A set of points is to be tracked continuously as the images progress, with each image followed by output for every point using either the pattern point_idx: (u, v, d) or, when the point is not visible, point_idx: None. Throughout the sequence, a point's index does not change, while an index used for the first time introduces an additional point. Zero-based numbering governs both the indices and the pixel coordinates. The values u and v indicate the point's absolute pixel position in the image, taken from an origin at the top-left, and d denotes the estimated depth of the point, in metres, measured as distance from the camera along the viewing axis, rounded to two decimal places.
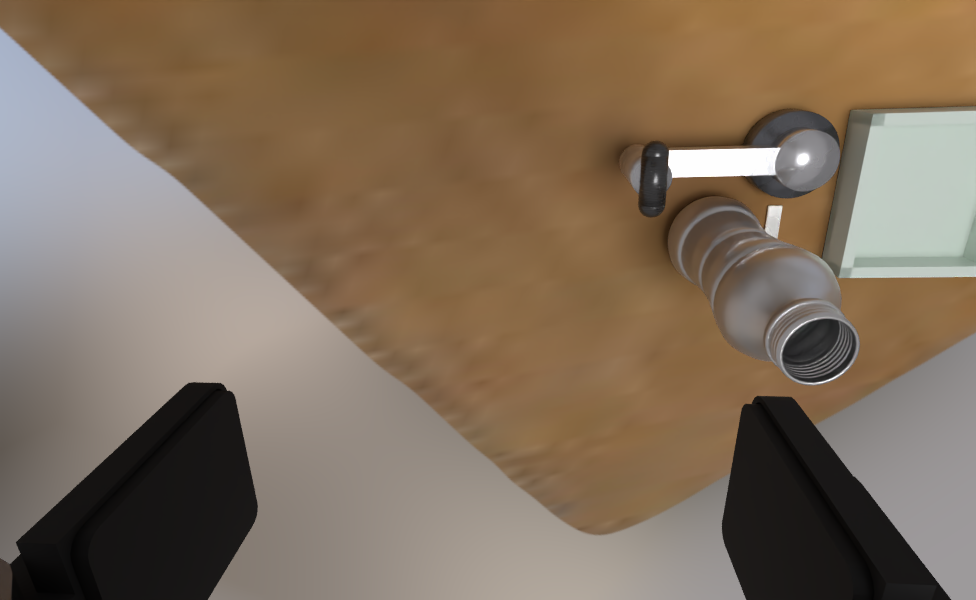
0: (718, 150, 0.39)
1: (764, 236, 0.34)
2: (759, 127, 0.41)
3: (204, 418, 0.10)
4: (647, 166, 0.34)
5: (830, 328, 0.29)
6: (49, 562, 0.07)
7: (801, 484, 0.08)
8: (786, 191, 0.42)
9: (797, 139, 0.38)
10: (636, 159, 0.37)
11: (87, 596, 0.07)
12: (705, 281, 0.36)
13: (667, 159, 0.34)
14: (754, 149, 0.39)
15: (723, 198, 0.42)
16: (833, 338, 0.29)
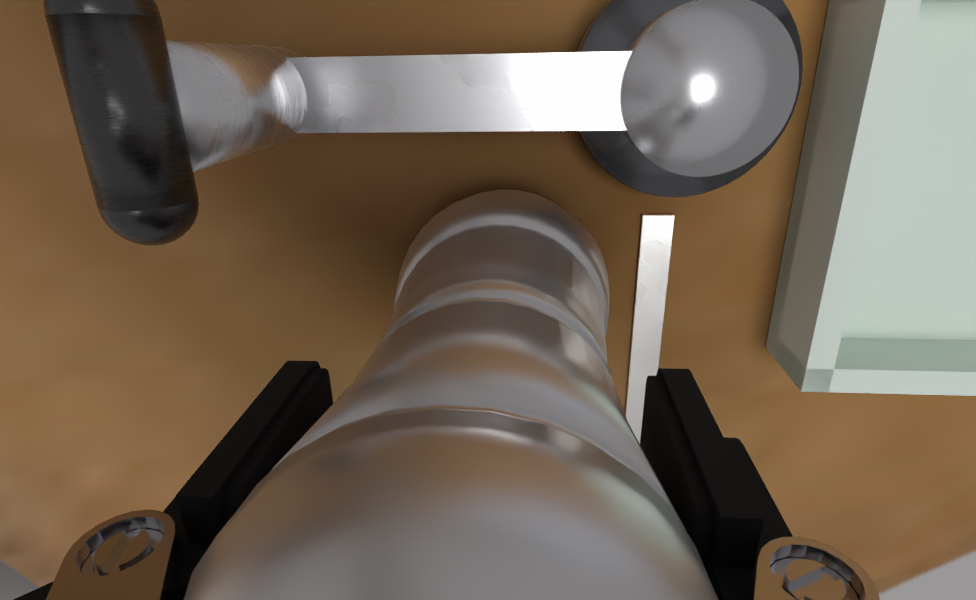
0: (463, 57, 0.14)
1: (497, 328, 0.09)
2: (599, 13, 0.16)
3: (309, 392, 0.10)
4: (58, 56, 0.09)
5: None
6: (203, 514, 0.08)
7: (676, 441, 0.09)
8: (671, 179, 0.17)
9: (675, 23, 0.13)
10: None
11: None
12: None
13: (127, 29, 0.09)
14: (561, 55, 0.14)
15: (510, 194, 0.16)
16: None
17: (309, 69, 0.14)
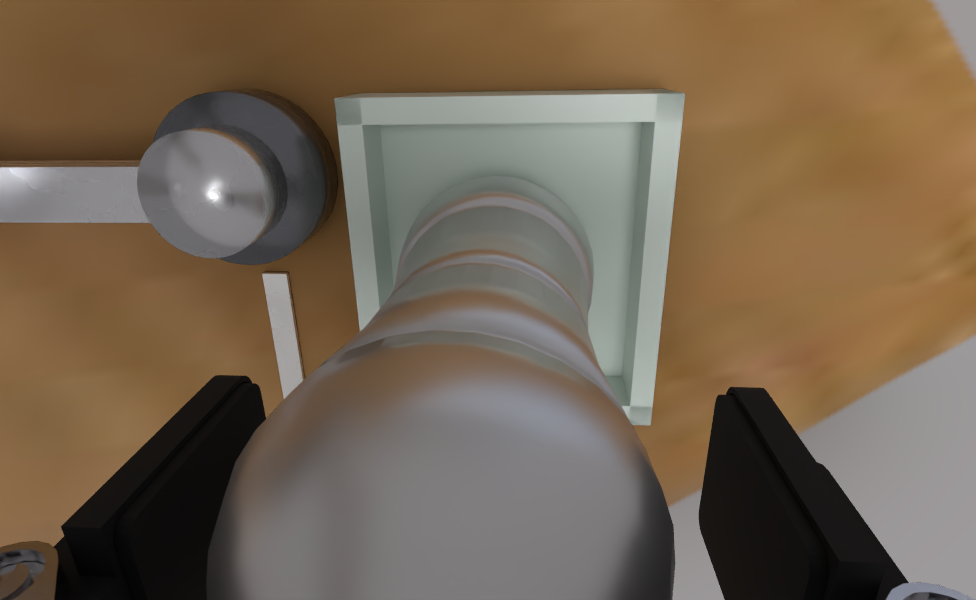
0: (24, 169, 0.19)
1: (486, 283, 0.11)
2: None
3: (232, 409, 0.10)
4: None
5: None
6: (92, 546, 0.07)
7: (767, 470, 0.08)
8: (243, 251, 0.21)
9: (161, 149, 0.18)
10: None
11: (128, 579, 0.08)
12: None
13: None
14: (94, 169, 0.18)
15: (502, 179, 0.18)
16: None
17: None
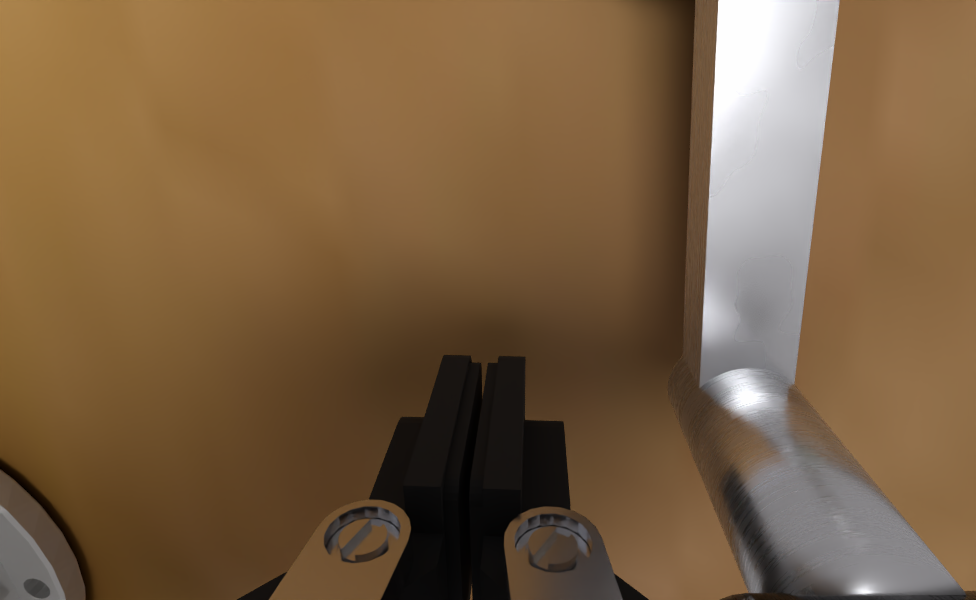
0: (714, 164, 0.10)
1: None
2: None
3: (476, 386, 0.10)
4: None
5: None
6: (427, 504, 0.08)
7: (483, 422, 0.09)
8: None
9: None
10: None
11: (447, 537, 0.08)
12: None
13: None
14: (722, 12, 0.09)
15: None
16: None
17: (715, 362, 0.11)
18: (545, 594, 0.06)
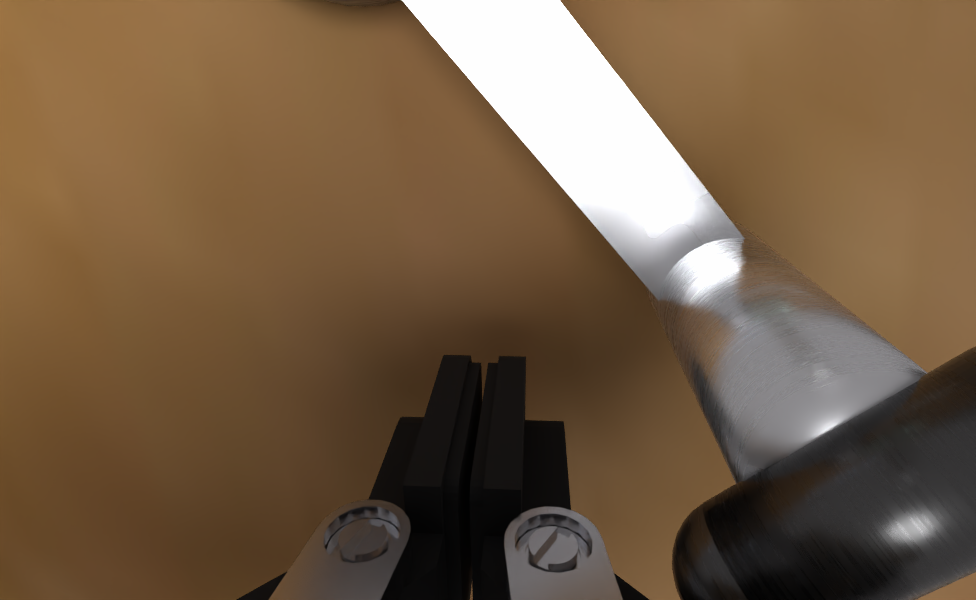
0: (502, 110, 0.10)
1: None
2: None
3: (476, 385, 0.10)
4: None
5: None
6: (427, 504, 0.08)
7: (483, 422, 0.09)
8: None
9: None
10: None
11: (446, 537, 0.08)
12: None
13: (749, 561, 0.06)
14: None
15: None
16: None
17: (652, 269, 0.10)
18: (545, 594, 0.06)
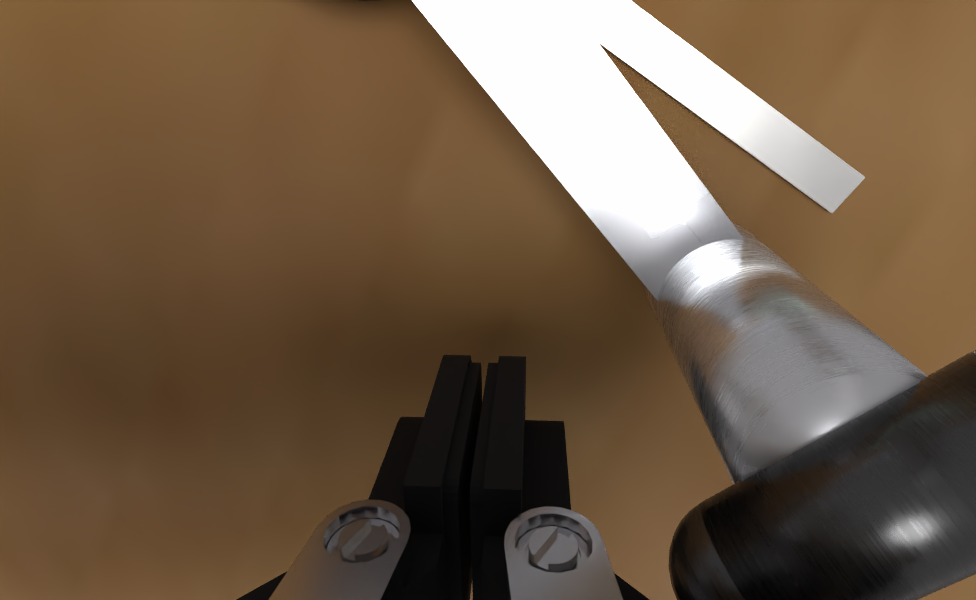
0: (504, 107, 0.10)
1: None
2: None
3: (476, 386, 0.10)
4: None
5: None
6: (427, 504, 0.08)
7: (483, 422, 0.09)
8: None
9: None
10: None
11: (447, 537, 0.08)
12: None
13: (747, 561, 0.06)
14: None
15: None
16: None
17: (652, 269, 0.10)
18: (545, 594, 0.06)
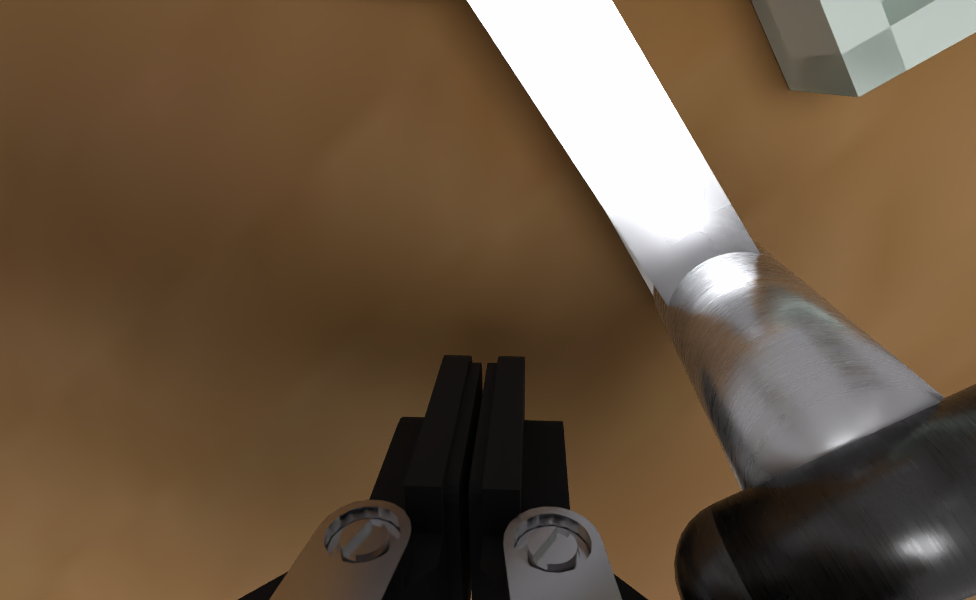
0: (537, 98, 0.10)
1: None
2: None
3: (476, 386, 0.10)
4: None
5: None
6: (428, 504, 0.08)
7: (482, 422, 0.09)
8: None
9: None
10: None
11: (447, 537, 0.08)
12: None
13: (759, 564, 0.06)
14: None
15: None
16: None
17: (665, 274, 0.10)
18: (544, 594, 0.06)
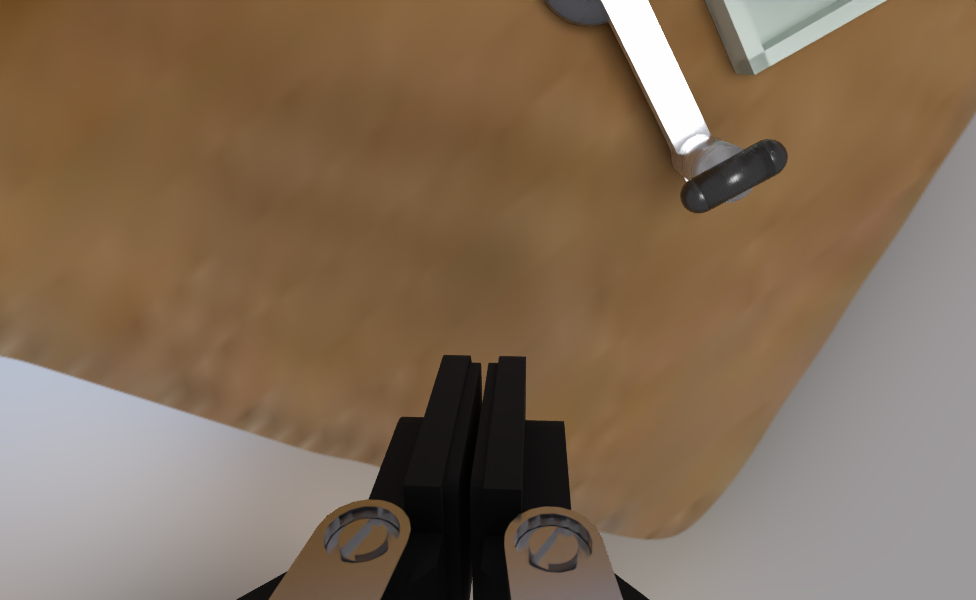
0: (640, 75, 0.29)
1: None
2: None
3: (476, 386, 0.10)
4: (721, 201, 0.25)
5: None
6: (427, 504, 0.08)
7: (484, 422, 0.09)
8: None
9: None
10: None
11: (446, 537, 0.08)
12: None
13: (701, 181, 0.25)
14: (618, 30, 0.28)
15: None
16: None
17: (678, 141, 0.30)
18: (545, 594, 0.06)
